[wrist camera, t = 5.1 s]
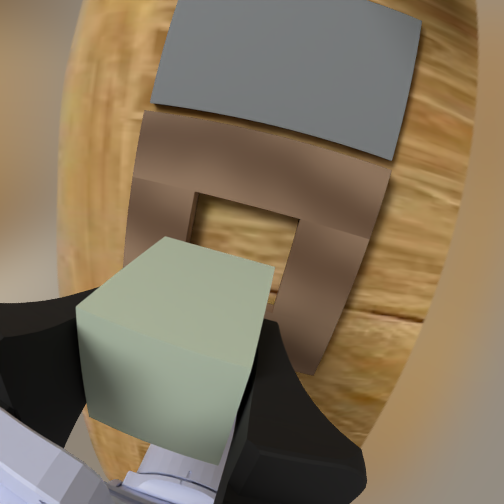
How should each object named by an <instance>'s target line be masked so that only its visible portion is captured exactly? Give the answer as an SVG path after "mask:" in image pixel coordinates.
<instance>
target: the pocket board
mask: <svg viewBox="0 0 504 504" xmlns="http://www.w3.org/2000/svg"><path fill="white" fill-rule="evenodd" d="M391 171H392V170H390V169H387V168H384V167H381V166H378V165H375V164H372V163H369V162H366V161H363V160H360V159H357V158H354V157H351V156H348V155H345V154H341V153H338V152H335V151H331V150H328V149H325V148H321V147H318V146H314V145H311V144H307V143H303V142H300V141H296V140H292V139H288V138H285V137H281V136H277V135H273V134H268V133H264V132H260V131H256V130H251V129H247V128H242V127H238V126H233V125H228V124H223V123H218V122H213V121H208V120H203V119H197V118H192V117H186V116H180V115H173V114H167V113H160V112H153V111H146V110H144V115H143V120H142V125H141V130H140V136H139V141H138V147H137V153H136V159H135V165H134V172H133V178H132V185H131V193H130V200H129V209H128V218H127V227H126V237H125V249H124V262H123V268H124V267H126V266H127V265H128V264H129V263H131V262H132V261H133V260H135V259H136V258H137V257H138V256H140V255H141V254H142V253H144V252H145V251H146V250H148V249H149V248H150V247H151V246H153V245H154V244H155V243H157V242H158V241H159V240H161V239H162V238H163V237H165V236H166V237H170V238H173V239H177V240H180V241H184V242H187V243H190V240H191V234H192V228H193V223H194V218H195V212H196V207H197V202H198V197H199V193H203V194H208V195H212V196H216V197H219V198H223V199H227V200H231V201H235V202H239V203H243V204H247V205H250V206H254V207H258V208H262V209H265V210H269V211H273V212H276V213H280V214H284V215H287V216H291V217H295V218H298V219H299V223H298V226H297V230H296V233H295V237H294V240H293V244H292V247H291V250H290V254H289V257H288V260H287V264H286V267H285V270H284V274H283V277H282V280H281V284H280V287H279V290H278V293H277V297H276V300H275V303H274V305H272V304H268V303H267V305H266V310H265V314H264V319H268V320H272V321H275V322H277V323H278V325H279V329H280V333H281V337H282V340H283V343H284V346H285V349H286V352H287V355H288V357H289V360H290V362H291V364H292V367H293V369H294V371H296V372H300V373H304V374H309V375H313V376H314V373H315V371H316V369H317V367H318V365H319V363H320V361H321V358H322V356H323V354H324V352H325V350H326V347H327V345H328V343H329V341H330V338H331V336H332V334H333V332H334V329H335V327H336V325H337V322H338V320H339V318H340V315H341V313H342V310H343V308H344V305H345V303H346V301H347V298H348V296H349V293H350V291H351V288H352V285H353V283H354V280H355V278H356V275H357V273H358V270H359V267H360V265H361V262H362V259H363V256H364V254H365V251H366V248H367V245H368V242H369V240H370V237H371V234H372V231H373V228H374V225H375V222H376V219H377V216H378V213H379V210H380V207H381V204H382V201H383V197H384V194H385V191H386V188H387V184H388V181H389V178H390V174H391Z"/></svg>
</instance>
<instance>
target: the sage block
mask: <svg viewBox="0 0 504 504" xmlns="http://www.w3.org/2000/svg"><path fill="white" fill-rule="evenodd" d="M274 270H275V267H273V266H269V265H266V264H262V263H259V262H255V261H251V260H248V259H244V258H241V257H237V256H233V255H230V254H226V253H223V252H219V251H216V250H212V249H209V248H205V247H201V246H198V245H194V244H191V243H187V242H184V241H180V240H177V239H173V238H170V237H166V236H165V237H163V238H162V239H161V240H159V241H158V242H157V243H155V244H154V245H153V246H151V247H150V248H149V249H148V250H146V251H145V252H144V253H142V254H141V255H140V256H138V257H137V258H136V259H135V260H133V261H132V262H131V263H129V264H128V265H127V266H126V267H124V268H123V269H122V270H120V271H119V272H118V273H117V274H115V275H114V276H113V277H112V278H110V279H109V280H108V281H107V282H105V283H104V284H103V285H102V286H100V287H99V288H98V289H97V290H95V291H94V292H93V293H92V294H90V295H89V296H88V297H87V298H86V299H84V300H83V301H82V302H81V303H80V304H78V305H77V306H76V319H77V332H78V343H79V353H80V361H81V369H82V376H83V383H84V390H85V396H86V402H87V407H88V413H89V417H91V418H93V419H95V420H98V421H100V422H102V423H104V424H106V425H108V426H110V427H113V428H115V429H117V430H119V431H122V432H124V433H126V434H128V435H131V436H133V437H136V438H138V439H141V440H143V441H146V442H148V443H151V444H153V445H156V446H159V447H161V448H164V449H167V450H170V451H173V452H175V453H178V454H181V455H184V456H187V457H191V458H194V459H197V460H200V461H204V462H207V463H210V464H214V465H219V463H220V460H221V457H222V454H223V451H224V449H225V446H226V443H227V440H228V437H229V434H230V431H231V429H232V426H233V423H234V420H235V417H236V414H237V411H238V408H239V405H240V402H241V399H242V396H243V393H244V390H245V387H246V384H247V381H248V378H249V375H250V372H251V369H252V365H253V361H254V357H255V352H256V348H257V344H258V340H259V335H260V331H261V327H262V323H263V318H264V314H265V310H266V305H267V301H268V296H269V292H270V288H271V283H272V279H273V274H274Z"/></svg>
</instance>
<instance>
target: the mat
mask: <svg viewBox="0 0 504 504" xmlns="http://www.w3.org/2000/svg"><path fill="white" fill-rule="evenodd" d="M421 24H422V21H421V20H418V19H416V18H414V17H411V16H409V15H406V14H404V13H401V12H399V11H396V10H393V9H390V8H388V7H385V6H382V5H379V4H376V3H373V2H370V1H367V0H178V2H177V5H176V9H175V12H174V15H173V18H172V21H171V24H170V28H169V31H168V34H167V38H166V41H165V45H164V48H163V52H162V56H161V60H160V63H159V67H158V71H157V75H156V79H155V83H154V88H153V92H152V96H151V101H150V103H155V104H162V105H169V106H176V107H183V108H189V109H195V110H201V111H206V112H212V113H217V114H222V115H228V116H233V117H237V118H242V119H247V120H251V121H256V122H260V123H265V124H269V125H273V126H277V127H281V128H285V129H289V130H293V131H297V132H301V133H304V134H308V135H311V136H315V137H319V138H322V139H326V140H329V141H332V142H336V143H339V144H342V145H345V146H349V147H352V148H355V149H358V150H361V151H364V152H367V153H370V154H373V155H376V156H379V157H382V158H384V159H387V160H390V161H392V158H393V155H394V151H395V147H396V143H397V140H398V136H399V132H400V128H401V124H402V120H403V116H404V112H405V107H406V103H407V99H408V94H409V90H410V85H411V80H412V75H413V70H414V65H415V60H416V54H417V49H418V43H419V37H420V30H421Z"/></svg>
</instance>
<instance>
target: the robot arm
mask: <svg viewBox="0 0 504 504" xmlns="http://www.w3.org/2000/svg"><path fill="white" fill-rule="evenodd" d="M98 288H99V287H97V288H94V289H91V290H88V291H84V292H81V293H77V294H74V295H70V296H66V297H62V298H57V299H51V300H46V301H38V302H27V303H0V504H350V503H351V502H352V501H353V500H354V499H355V498H356V497H358V496H359V495H360V494H361V493H362V491H363V490H364V489H365V488H366V483H367V476H366V468H365V462H364V458H363V455H362V450H361V449H360V448H359V447H358V446H357V445H355V444H354V443H353V442H352V441H351V440H349V439H348V438H347V437H346V436H345V435H343V434H342V433H341V432H340V431H339V430H338V429H337V428H336V427H335V426H334V425H333V424H332V423H331V422H330V421H329V420H328V419H327V418H326V417H325V416H324V415H323V413H322V412H321V411H320V410H319V409H318V407H317V406H316V405H315V404H314V402H313V401H312V400H311V398H310V397H309V395H308V394H307V392H306V391H305V389H304V388H303V386H302V384H301V382H300V381H299V379H298V377H297V375H296V373H295V371H294V369H293V367H292V364H291V362H290V360H289V357H288V355H287V352H286V349H285V346H284V343H283V340H282V337H281V333H280V329H279V325H278V323H277V322H275V321H272V320H268V319H264V318H263V323H262V327H261V331H260V335H259V340H258V344H257V348H256V352H255V357H254V361H253V365H252V369H251V372H250V375H249V378H248V381H247V384H246V387H245V390H244V393H243V396H242V399H241V402H240V405H239V408H238V411H237V414H236V417H235V420H234V423H233V426H232V429H231V431H230V434H229V437H228V440H227V443H226V446H225V449H224V451H223V454H222V457H221V460H220V463H219V465H214V464H210V463H207V462H204V461H200V460H197V459H194V458H191V457H187V456H184V455H181V454H178V453H175V452H173V451H170V450H167V449H164V448H161V447H159V446H156V445H153V444H150V446H149V448H148V450H147V452H146V455H145V457H144V459H143V461H142V463H141V465H140V467H139V469H138V471H137V473H135V472H132V471H128V473H127V475H126V477H125V479H124V481H121V480H118V479H114V480H111V481H109V482H108V483H107V482H105V481H103V480H102V478H101V477H100V475H98V474H97V473H96V472H95V471H94V470H93V469H91V468H90V467H89V466H88V465H87V464H86V463H84V462H83V461H82V460H80V459H79V458H77V457H75V456H74V455H72V454H71V453H69V452H68V451H66V450H65V449H64V447H65V444H66V442H67V439H68V437H69V435H70V433H71V431H72V429H73V427H74V425H75V423H76V421H77V419H78V417H79V415H80V414H81V412H82V410H83V408H84V406H85V404H86V403H87V402H86V396H85V390H84V383H83V376H82V369H81V361H80V353H79V343H78V332H77V319H76V306H77V305H78V304H80V303H81V302H82V301H83V300H84V299H86V298H87V297H88V296H89V295H90V294H92V293H93V292H94V291H95V290H97V289H98Z"/></svg>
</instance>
